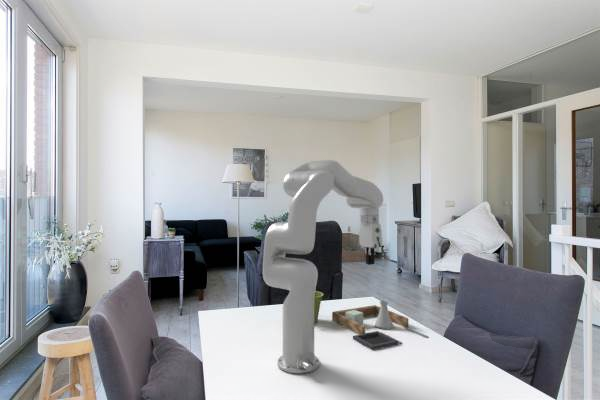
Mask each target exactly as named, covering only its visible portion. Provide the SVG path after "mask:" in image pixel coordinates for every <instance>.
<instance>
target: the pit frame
mask: <svg viewBox="0 0 600 400" xmlns="http://www.w3.org/2000/svg"><path fill="white" fill-rule="evenodd" d="M381 332H382V331H379V330H375V331H370V332H365V334H360V335H358V334H355V335H352V340H353V341H355V342H357V343H359V344H361V345H362V346H364V347H366V348H368V349H369V350H371V351H376V350H380V349H383V348H389V347H393V346H397V345H399V343H398V341H399V340H398V339H396V338H394V337H392V336H390V335H388V336H387V334H386V333H384V332H382V333H381ZM383 333H384V334H383ZM385 334H386V335H385ZM389 336H390V337H389ZM391 337H392V338H391ZM393 338H394V339H393ZM395 339H396V340H395ZM397 340H398V341H397Z"/></svg>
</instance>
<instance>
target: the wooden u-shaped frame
mask: <svg viewBox="0 0 600 400" xmlns="http://www.w3.org/2000/svg"><path fill="white" fill-rule="evenodd" d="M352 310H356V311H359V312H362V313H363V318H364V317H369V316H370V317H371V316H378V314H379V311H380V306H378V305H376V304H374V305H368V306H367V305H366V306H362V307H355V308H347V309H342V310H335V311H332V312H331V319H332V320H331V321H333V322H334V323H336V324H338V325H340V326H342V327H344V328H346V329H347V330H349V331H351V332H353V333H355V334H356V335H360V334H365V333H366V326H365V325H364V324H363V325H361V324H359V323H357V322H355V321H353V320H351V319H349V318H347V317H345V312H348V311H352ZM388 312H389V315H390V318H391V321H392V323H395V324H396V325H398V326H400V327H403V328H405V327H408V328H409V318H408V317H406V316H404V315H401V314H399V313H396V312H394V311H391V310H389V309H388Z"/></svg>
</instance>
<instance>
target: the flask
mask: <svg viewBox="0 0 600 400" xmlns="http://www.w3.org/2000/svg"><path fill="white" fill-rule="evenodd" d="M388 303H389V300H383V299H381V300H379V304H380V306H379V307H380V311H379V314H378V315H377V318H376V320H375V323H374V328H377V329H380V330H381V329H382V330H390V329H394V328H393V327H394V324H393V322H392V321H391V318H390V315H389V312H388V310H389V308H388Z"/></svg>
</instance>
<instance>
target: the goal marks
mask: <svg viewBox="0 0 600 400" xmlns="http://www.w3.org/2000/svg"><path fill="white" fill-rule="evenodd" d="M404 329H405V330H407V331H409V332H411V333H414V334H416V335H419V336H420V337H424V338H426V339H428V338H429V335H426V334H424V333H422V332H419V331H416V330H415V329H412V328H410V327H409V326H408V327H404ZM380 332H381V333H383V334H385V335H387V334H386V333H384V332H382V331H380ZM387 336H389V337H391V338H393V339H395V340H397V341H398V345H402V344H403V341H400V340H398V339H396V338H394V337H392V336H390V335H387Z"/></svg>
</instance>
